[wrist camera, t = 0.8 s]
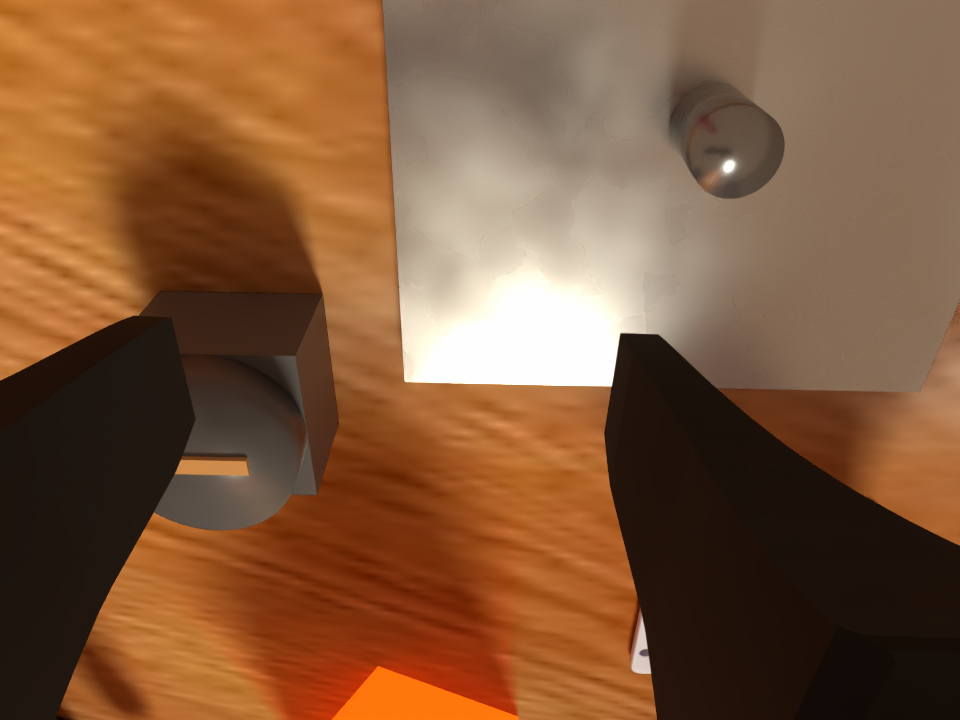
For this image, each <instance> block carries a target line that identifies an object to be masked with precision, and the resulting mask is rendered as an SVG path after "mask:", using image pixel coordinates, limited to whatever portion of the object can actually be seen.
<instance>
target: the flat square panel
mask: <svg viewBox="0 0 960 720" xmlns="http://www.w3.org/2000/svg"><path fill="white" fill-rule="evenodd" d="M383 18H384V35H385V52H386V69H387V87H388V104H389V121H390V138H391V156H392V173H393V190H394V207H395V225H396V242H397V259H398V276H399V294H400V311H401V328H402V345H403V363H404V380H405V382H431V383H481V384H531V385H580V386H612V382H613V376H614V369H615V363H616V357H617V350H618V344H619V338H620V333H634V334H659V335H660V336H661V337H662V338H663V339H665V340H666V341H667V342H668V343H669V344H670V345H671V346H672V347H673V348H674V349H675V350H676V351H677V352H678V353H680V354H681V355H682V356H683V357H684V358H685V359H686V360H687V361H688V362H689V363H690V364H691V365H692V366H693V367H694V368H695V369H696V370H697V371H698V372H699V373H701V374H702V375H703V376H704V377H705V378H706V379H707V380H708V381H709V382H710V383H711V384H712V385H713V386H715V387H716V388H729V389H779V390H829V391H879V392H921V389H922V387H923V385H924V382H925V380H926V378H927V375H928V373H929V371H930V368H931V366H932V364H933V361H934V359H935V357H936V354H937V352H938V350H939V347H940V345H941V343H942V340H943V338H944V336H945V333H946V331H947V329H948V326H949V324H950V322H951V319H952V317H953V315H954V312H955V310H956V308H957V305H958V303H959V301H960V0H383Z"/></svg>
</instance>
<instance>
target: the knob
mask: <svg viewBox="0 0 960 720" xmlns="http://www.w3.org/2000/svg"><path fill="white" fill-rule="evenodd" d="M139 316H154V317H171V318H172V322H173V326H174V330H175V334H176V339H177V343H178V347H179V351H180V355H181V360H182V364H183V368H184V372H185V376H186V380H187V385H188V389H189V393H190V397H191V401H192V406H193V410H194V414H195V418H196V419H195V422H194V425H193V428H192V431H191V434H190V437H189V439H188V442H187V445H186V448H185V450H184V453H183V455H182V458H181V461H180V463H179V466H178V468H177V471H176V472H175V474H174V476H173V478H172V480H171V482H170V484H169V486H168V487H167V489H166V491H165V493H164V495H163V496H162V498H161V500H160V502H159V504H158V505H157V507H156V509H155V511H154V513H156V514H158V515H160V516H162V517H164V518H167V519H169V520H171V521H174V522H177V523H180V524H183V525H186V526H190V527H194V528H200V529H207V530H234V529H241V528H246V527H250V526H253V525H256V524H259V523H261V522H263V521H265V520H267V519H269V518H270V517H272V516H273V515H275V514H276V513H277V512H278V511H279V510H280V509H281V508H282V507H283V506H284V505H285V503H286V502H287V501H288V499H289V497H290V495H317V494H318V490H319V487H320V484H321V480H322V477H323V474H324V471H325V467H326V464H327V461H328V457H329V454H330V451H331V447H332V444H333V441H334V438H335V434H336V431H337V428H338V424H339V422H338V414H337V406H336V398H335V389H334V381H333V373H332V365H331V357H330V349H329V341H328V333H327V325H326V317H325V309H324V301H323V294H279V293H225V292H172V291H160V292H159V293H158V294H157V295H156V296H155V298H154V299H153V300H152V301H151V302H150V303H149V305H148V306H147V307H146V308H145V309H144V310H143V311H142V313H141V314H140V315H139ZM270 377H273V379H272V378H270Z"/></svg>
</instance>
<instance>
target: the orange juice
mask: <svg viewBox="0 0 960 720" xmlns="http://www.w3.org/2000/svg"><path fill="white" fill-rule="evenodd" d="M332 720H518V716H515V715H512V714H510V713H507V712H504V711H501V710H498V709H496V708H493V707H490V706H487V705H485V704H482V703H479V702H476V701H474V700H471V699H468V698H465V697H462V696H460V695H457V694H454V693H451V692H449V691H446V690H443V689H440V688H437V687H435V686H432V685H429V684H426V683H424V682H421V681H418V680H415V679H412V678H410V677H407V676H404V675H401V674H399V673H396V672H393V671H390V670H387V669H385V668H382V667H379V666H378V667H377V668H376V669H375V670H374V671H373V673H372V674H371V675H370V676H369V677H368V678H367V679H366V681H365V682H364V683H363V684H362V685H361V686H360V688H359V689H358V690H357V691H356V692H355V693H354V695H353V696H352V697H351V698H350V699H349V700H348V701H347V703H346V704H345V705H344V706H343V707H342V708H341V710H340V711H339V712H338V713H337V714H336V715H335V716H334V718H333V719H332Z"/></svg>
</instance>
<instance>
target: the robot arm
mask: <svg viewBox="0 0 960 720" xmlns="http://www.w3.org/2000/svg"><path fill="white" fill-rule="evenodd" d="M195 419H196V418H195V414H194V410H193V406H192V401H191V397H190V393H189V389H188V385H187V380H186V376H185V372H184V368H183V364H182V360H181V355H180V351H179V347H178V343H177V339H176V334H175V330H174V326H173V322H172V318H171V317H154V316H132V317H129V318H126V319H124V320H121V321H119V322H117V323H114V324H112V325H110V326H108V327H106V328H104V329H102V330H99V331H97V332H95V333H93V334H91V335H89V336H87V337H85V338H83V339H82V340H80V341H78V342H76V343H74V344H72V345H70V346H68V347H66V348H64V349H62V350H60V351H58V352H56V353H54V354H52V355H50V356H49V357H47V358H45V359H43V360H41V361H39V362H37V363H35V364H33V365H31V366H29V367H27V368H25V369H23V370H21V371H19V372H17V373H15V374H13V375H11V376H9V377H7V378H5V379H3V380H1V381H0V720H55V718H56V715H57V713H58V710H59V708H60V705H61V703H62V700H63V697H64V695H65V692H66V690H67V687H68V685H69V682H70V680H71V677H72V674H73V672H74V669H75V667H76V665H77V662H78V660H79V658H80V655H81V653H82V651H83V648H84V646H85V644H86V641H87V639H88V637H89V634H90V632H91V630H92V627H93V625H94V622H95V620H96V618H97V615H98V613H99V611H100V609H101V607H102V605H103V603H104V601H105V599H106V597H107V595H108V593H109V591H110V589H111V587H112V585H113V583H114V582H115V580H116V578H117V576H118V575H119V573H120V571H121V569H122V568H123V566H124V564H125V562H126V560H127V559H128V557H129V555H130V553H131V552H132V550H133V548H134V546H135V545H136V543H137V541H138V539H139V537H140V536H141V534H142V532H143V530H144V529H145V527H146V525H147V523H148V522H149V520H150V518H151V516H152V514H153V513H154V511H155V509H156V507H157V505H158V504H159V502H160V500H161V498H162V496H163V495H164V493H165V491H166V489H167V487H168V486H169V484H170V482H171V480H172V478H173V476H174V474H175V472H176V471H177V468H178V466H179V463H180V461H181V458H182V455H183V453H184V450H185V448H186V445H187V442H188V439H189V437H190V434H191V431H192V428H193V425H194V422H195ZM604 435H605V445H606V455H607V464H608V473H609V481H610V488H611V492H612V496H613V500H614V504H615V508H616V512H617V517H618V521H619V525H620V529H621V533H622V537H623V540H624V544H625V548H626V552H627V556H628V560H629V564H630V568H631V572H632V576H633V580H634V584H635V588H636V592H637V596H638V600H639V604H640V611H639V616H638V620H637V625H636V630H635V635H634V640H633V645H632V650H631V654H630V659H629V660H630V667H631V669H632V670H633V671H634V672H636V673H642V674H651V676H652V683H653V690H654V698H655V706H656V713H657V720H960V546H959V545H957V544H955V543H953V542H950V541H948V540H946V539H944V538H942V537H940V536H938V535H936V534H934V533H932V532H930V531H928V530H926V529H924V528H922V527H920V526H918V525H916V524H914V523H912V522H910V521H908V520H906V519H904V518H903V517H901V516H899V515H897V514H895V513H894V512H892V511H890V510H888V509H886V508H885V507H883V506H881V505H879V504H877V503H876V502H874V501H872V500H870V499H868V498H867V497H865V496H863V495H861V494H860V493H858V492H856V491H855V490H853V489H851V488H850V487H848V486H846V485H845V484H843V483H841V482H840V481H838V480H837V479H835V478H833V477H832V476H830V475H829V474H827V473H826V472H824V471H823V470H821V469H820V468H818V467H817V466H815V465H814V464H812V463H811V462H809V461H808V460H806V459H805V458H803V457H802V456H800V455H799V454H797V453H796V452H795V451H793V450H792V449H790V448H789V447H788V446H786V445H785V444H784V443H782V442H781V441H780V440H778V439H777V438H776V437H774V436H773V435H772V434H771V433H769V432H768V431H767V430H766V429H764V428H763V427H762V426H760V425H759V424H758V423H757V422H755V421H754V420H753V419H752V418H750V417H749V416H748V415H747V414H746V413H744V412H743V411H742V410H741V409H740V408H738V407H737V406H736V405H735V404H734V403H733V402H731V401H730V400H729V399H728V398H727V397H726V396H725V395H723V394H722V393H721V392H720V391H719V390H718V389H717V388H716V387H715V386H713V385H712V384H711V383H710V382H709V381H708V380H707V379H706V378H705V377H704V376H703V375H702V374H701V373H699V372H698V371H697V370H696V369H695V368H694V367H693V366H692V365H691V364H690V363H689V362H688V361H687V360H686V359H685V358H684V357H683V356H682V355H681V354H680V353H678V352H677V351H676V350H675V349H674V348H673V347H672V346H671V345H670V344H669V343H668V342H667V341H666V340H665V339H663V338H662V337H661V336H660V335H659V334H634V333H620V338H619V344H618V350H617V357H616V363H615V369H614V376H613V382H612V388H611V395H610V401H609V407H608V413H607V420H606V426H605V432H604Z"/></svg>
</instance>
